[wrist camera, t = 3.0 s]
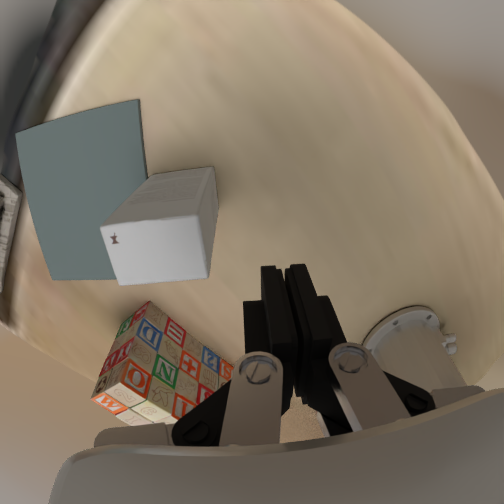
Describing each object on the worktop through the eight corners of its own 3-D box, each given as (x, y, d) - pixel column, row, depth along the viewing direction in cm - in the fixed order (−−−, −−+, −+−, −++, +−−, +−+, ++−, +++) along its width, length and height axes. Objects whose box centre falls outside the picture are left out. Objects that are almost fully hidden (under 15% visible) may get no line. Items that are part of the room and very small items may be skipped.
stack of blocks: (263, 386, 41) (269, 460, 30) (232, 401, 42) (231, 470, 32) (149, 298, 32) (118, 383, 22) (119, 323, 34) (88, 400, 23)
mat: (139, 99, 22) (137, 99, 22) (164, 275, 31) (163, 278, 30) (18, 132, 22) (15, 133, 22) (54, 277, 31) (52, 280, 30)
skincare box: (159, 216, 28) (116, 287, 17) (151, 173, 26) (95, 225, 15) (221, 209, 28) (210, 281, 17) (216, 164, 26) (198, 211, 15)
